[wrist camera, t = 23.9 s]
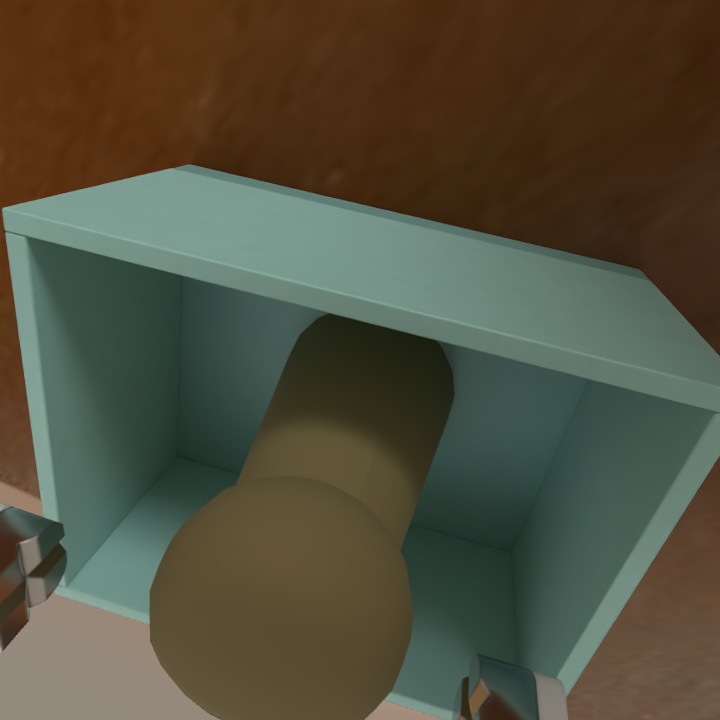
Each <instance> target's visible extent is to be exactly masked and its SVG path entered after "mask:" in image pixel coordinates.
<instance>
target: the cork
mask: <svg viewBox="0 0 720 720" xmlns="http://www.w3.org/2000/svg"><path fill="white" fill-rule="evenodd" d="M454 396H455V393H454V381H453V370H452V368H451V366H450V364H449V362H448V360H447V357H446V355H445V353H444V351H443V349H442V347H441V346H440V345H439V344H438V342H437V341H436V340H433V339H429V338H425V337H421V336H417V335H413V334H409V333H406V332H402V331H398V330H394V329H390V328H386V327H382V326H378V325H374V324H370V323H366V322H362V321H358V320H354V319H351V318H347V317H343V316H339V315H335V314H331V313H329V314H326V315H324V316H321V317H319V318H317V319H316V320H315V321H314V322H313V323H312V324H311V325H310V326H308V327H307V328H306V329H305V330H304V331H303V332H302V333H301V334H300V335H299V337H298V339H297V341H296V343H295V345H294V347H293V349H292V351H291V353H290V355H289V357H288V359H287V362H286V364H285V367H284V369H283V371H282V374H281V376H280V379H279V381H278V384H277V386H276V388H275V391H274V393H273V396H272V398H271V400H270V403H269V405H268V408H267V410H266V413H265V415H264V417H263V420H262V422H261V425H260V427H259V430H258V432H257V434H256V437H255V439H254V442H253V444H252V447H251V449H250V451H249V454H248V456H247V459H246V461H245V463H244V466H243V468H242V471H241V473H240V476H239V478H238V480H237V483H236V485H235V486H232V487H229V488H226V489H225V490H223V491H222V492H221V493H219V494H218V495H217V496H216V497H214V498H213V499H212V500H211V501H209V502H208V503H207V504H206V505H204V506H203V507H202V508H201V509H199V510H198V511H197V512H196V513H194V514H193V515H192V516H191V517H189V518H188V519H187V520H186V521H185V522H184V523H183V525H182V526H181V527H180V529H179V530H178V531H177V533H176V534H175V536H174V537H173V538H172V540H171V541H170V543H169V545H168V547H167V549H166V551H165V553H164V555H163V558H162V560H161V562H160V564H159V566H158V569H157V572H156V574H155V577H154V580H153V583H152V586H151V588H150V642H151V644H152V646H153V648H154V651H155V653H156V655H157V657H158V659H159V662H160V664H161V666H162V667H163V668H164V670H165V671H166V672H167V674H168V675H169V676H170V677H171V678H172V680H173V681H174V682H175V683H176V684H177V686H178V687H179V688H180V689H181V690H182V691H183V693H184V694H185V695H186V696H187V697H188V698H190V699H191V700H192V701H193V702H195V703H196V704H197V705H199V706H200V707H201V708H202V709H204V710H205V711H206V712H208V713H209V714H211V715H213V716H215V717H217V718H218V719H221V720H364V719H365V718H366V717H368V716H369V714H371V712H373V711H374V710H375V709H376V708H377V706H378V705H379V704H380V703H381V702H382V701H383V700H384V699H385V698H386V697H387V696H388V695H389V694H390V693H391V691H392V690H393V687H394V685H395V682H396V680H397V678H398V675H399V673H400V670H401V668H402V665H403V662H404V659H405V656H406V653H407V650H408V647H409V644H410V641H411V633H412V624H413V615H414V613H413V606H412V600H411V593H410V586H409V580H408V573H407V567H406V561H405V559H404V557H403V556H402V554H401V552H400V550H401V547H402V544H403V541H404V539H405V536H406V533H407V530H408V528H409V525H410V522H411V519H412V516H413V514H414V511H415V508H416V505H417V503H418V500H419V497H420V494H421V492H422V489H423V486H424V483H425V481H426V478H427V475H428V472H429V470H430V467H431V464H432V461H433V458H434V456H435V453H436V450H437V447H438V445H439V442H440V439H441V436H442V434H443V431H444V428H445V425H446V423H447V420H448V417H449V413H450V410H451V406H452V403H453V400H454Z"/></svg>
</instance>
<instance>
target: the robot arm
mask: <svg viewBox="0 0 720 720" xmlns="http://www.w3.org/2000/svg"><path fill="white" fill-rule="evenodd" d="M64 536H65V533H64V527H63V524H62V523H59V522H56V521H53V520H50V519H47V518H44V517H41V516H38V515H35V514H32V513H29V512H26V511H23V510H20V509H17V508H15V507H12V506H9V505H6V504H3V503H0V653H1V652H3V650H4V649H5V648H6V647H7V646H8V645H9V643H10V642H11V641H12V640H13V639H14V638H15V636H16V635H17V634H18V633H19V632H20V631H21V629H22V628H23V627H24V626H25V625H26V624H27V622H28V621H29V616H30V608H31V607H33V606H35V605H37V604H39V603H41V602H43V601H46V600H47V599H48V598H49V596H50V595H51V594H52V593H53V592H54V590H55V589H56V588H57V586H58V585H59V583H60V581H61V579H62V577H63V575H64V573H65V570H66V565H67V561H68V560H67V551H66V550H65V549H64V547H63V546H62V545H61V544H60V541H61V539H62V538H63V537H64ZM452 720H569V717H568V709H567V702H566V695H565V688H564V686H563V684H562V682H561V680H559V679H557V678H554V677H550V676H547V675H543V674H540V673H537V672H533V671H531V670H530V669H527V668H524V667H520V666H517V665H514V664H510V663H507V662H503V661H500V660H497V659H493V658H490V657H487V656H483V655H480V654H476V655H475V656H474V657H473V659H472V660H471V662H470V664H469V676H468V677H465V678H463V679H462V681H461V683H460V685H459V687H458V690H457V694H456V698H455V702H454V706H453V714H452Z"/></svg>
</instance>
